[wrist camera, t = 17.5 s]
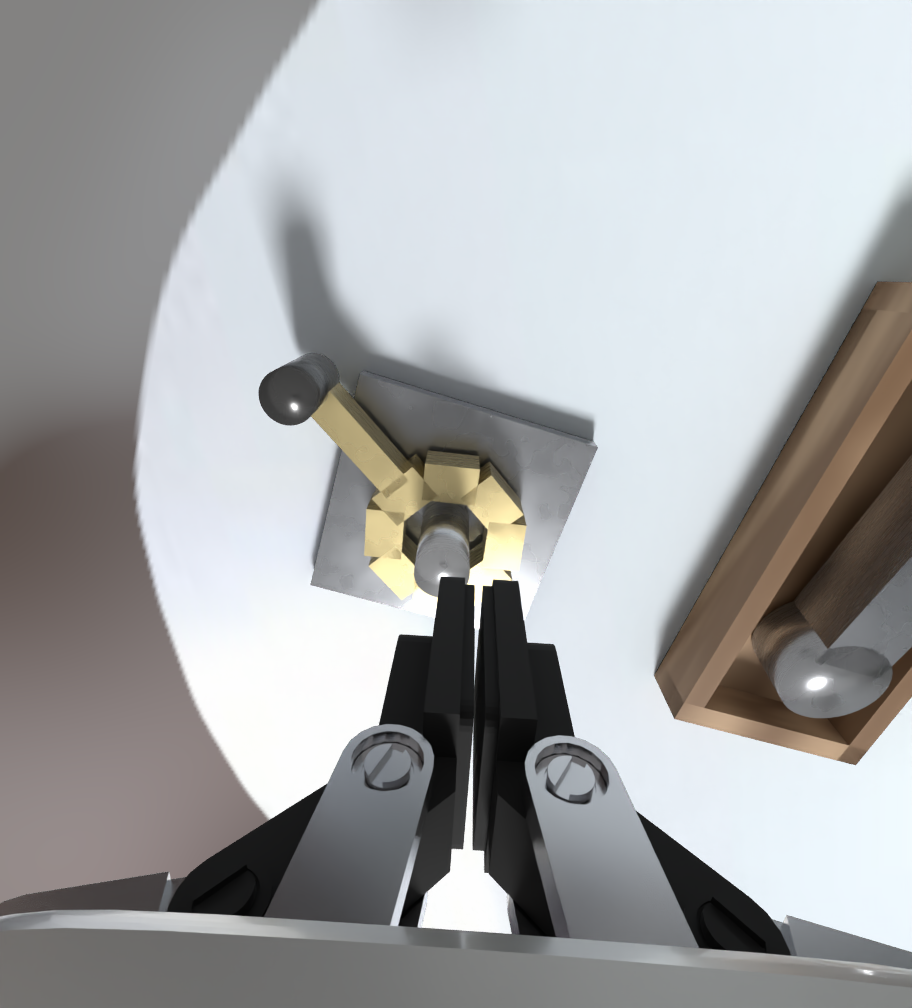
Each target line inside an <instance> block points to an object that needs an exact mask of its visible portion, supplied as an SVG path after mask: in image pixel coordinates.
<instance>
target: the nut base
mask: <svg viewBox="0 0 912 1008" xmlns="http://www.w3.org/2000/svg"><path fill="white" fill-rule="evenodd" d="M354 400H355V401H356V402H357V403H358V404H359V405H360V407H361V408H362V409H363V410H364V411H365V412H366V413H367V415H368V416H369V417H370V418H371V419H372V420H373V421H374V423H375V424H376V425H377V426H378V427H379V428H380V429H381V431H382V432H383V433H384V434H385V435H386V436H387V437H388V439H389V440H390V441H391V442H392V443H393V444H394V445H395V446H396V448H397V449H398V450H399V451H400V452H401V453H402V454H403V456H404V457H405V458H406V459H407V460H409V459H410V458H411V457H412V456H414V455H415V454H417V455H418V456H419V457H420V459H421V460H422V461H423V462H424V463H425V462H426V457H427V452H428V450H429V451H439V452H448V453H457V454H466V455H476V456H479V464H480V468H481V467H483V466H484V465H485V464H487V463H488V462H489V461H490V463H491V464H492V465H493V466H494V468H495V469H496V470H497V471H498V472H499V474H500V475H501V476H502V477H503V479H504V480H505V481H506V482H507V483H508V485H509V486H510V487H511V488H512V490H513V491H514V492H515V493H516V494H517V496H518V497H519V498H520V502H521V506H522V509H523V513H524V517H525V521H526V525H527V527H526V532H525V538H524V544H523V550H522V555H521V561H520V567H519V571H511V575H512V581H518V582H519V588H520V595H521V602H522V609H523V617H524V619H525V617H526V615H527V612H528V610H529V608H530V605H531V603H532V601H533V598H534V596H535V594H536V591H537V589H538V587H539V584H540V582H541V580H542V577H543V575H544V573H545V570H546V568H547V565H548V563H549V561H550V558H551V556H552V554H553V551H554V549H555V547H556V544H557V542H558V540H559V537H560V535H561V533H562V530H563V528H564V526H565V523H566V521H567V519H568V516H569V514H570V512H571V509H572V507H573V504H574V502H575V500H576V497H577V495H578V493H579V490H580V488H581V486H582V483H583V481H584V479H585V476H586V474H587V472H588V469H589V467H590V465H591V462H592V460H593V458H594V455H595V453H596V451H597V448H598V447H597V445H596V444H595V443H594V441H591V440H587V439H584V438H581V437H578V436H574V435H571V434H568V433H565V432H561V431H558V430H555V429H552V428H548V427H545V426H542V425H539V424H535V423H532V422H529V421H526V420H522V419H519V418H516V417H513V416H509V415H506V414H503V413H500V412H496V411H493V410H490V409H487V408H483V407H480V406H477V405H474V404H470V403H467V402H464V401H461V400H457V399H454V398H451V397H448V396H444V395H441V394H438V393H435V392H431V391H428V390H425V389H422V388H418V387H415V386H412V385H409V384H405V383H402V382H399V381H396V380H392V379H389V378H386V377H383V376H379V375H376V374H373V373H370V372H366V371H362V372H361V373H360V375H359V379H358V383H357V387H356V392H355V396H354ZM375 490H376V486H375V485H374V484H373V483H372V482H371V481H370V480H369V479H368V478H367V477H366V476H365V474H364V473H363V472H362V471H361V470H360V469H359V468H358V467H357V466H356V465H355V464H354V462H353V461H352V460H351V459H350V458H349V457H348V456H347V455H346V454H345V453H344V452H343V450H342V452H341V456H340V460H339V465H338V469H337V473H336V478H335V482H334V486H333V490H332V495H331V499H330V503H329V508H328V512H327V516H326V521H325V525H324V529H323V533H322V538H321V542H320V546H319V551H318V555H317V559H316V563H315V568H314V572H313V576H312V581H311V585H313V586H317V587H320V588H324V589H328V590H332V591H336V592H339V593H343V594H347V595H351V596H355V597H358V598H362V599H366V600H370V601H374V602H377V603H381V604H385V605H389V606H393V607H396V608H400V609H404V610H408V611H411V612H415V613H419V614H423V615H427V616H430V617H434V618H435V615H436V607H428V606H418V605H412V603H413V593H411V594H410V595H408V596H407V597H405V598H404V599H403V600H401V599H400V598H399V597H398V596H397V595H396V594H395V593H394V592H393V591H392V590H391V589H390V588H389V587H388V586H387V585H386V584H385V583H384V582H383V581H382V579H381V578H380V577H379V576H378V575H377V574H376V573H375V572H374V571H373V570H372V569H371V568H370V567H369V563H370V560H371V556H364V549H365V528H366V509H367V506H368V504H369V502H370V499H371V497H372V494H373V493H374V492H375ZM483 532H484V525H483V524H482V523H481V521H480V520H479V519H478V518H477V517H476V516H475V514H474V513H473V512H472V511H471V510H470V509H469V507H468V506H467V505H464V504H454V503H445V502H435V501H430V502H429V503H428V504H426V505H425V506H424V507H422V508H421V509H420V510H418V511H417V512H415V513H414V514H413V515H411V516H410V517H409V518H407V523H406V535H407V536H408V537H409V538H410V539H411V540H412V541H413V542H414V543H415V544H416V545H417V546H418V549H417V555H416V561H415V567H414V578H415V581H416V583H417V585H418V586H419V588H420V589H421V590H422V591H424V592H425V593H426V594H428V595H431V596H433V597H438V591H439V583H440V576H448V577H464V578H465V584H467V583H468V581H469V577H470V557H469V550H471V549H472V548H474V547H475V546H477V545H478V544H479V543H481V542H482V539H483ZM480 611H481V602H480V603H478V604H477V605H475V628H476V629H479V623H480Z"/></svg>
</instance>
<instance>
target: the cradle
mask: <svg viewBox="0 0 912 1008" xmlns="http://www.w3.org/2000/svg"><path fill="white" fill-rule="evenodd" d="M911 455H912V282H877V284H876V285H875V287H874V289H873V291H872V292H871V294H870V296H869V298H868V299H867V301H866V303H865V305H864V306H863V308H862V310H861V312H860V314H859V315H858V317H857V319H856V321H855V322H854V324H853V326H852V328H851V329H850V331H849V333H848V335H847V336H846V338H845V340H844V342H843V344H842V345H841V347H840V349H839V351H838V352H837V354H836V356H835V358H834V359H833V361H832V363H831V365H830V366H829V368H828V370H827V372H826V373H825V375H824V377H823V379H822V381H821V382H820V384H819V386H818V388H817V389H816V391H815V393H814V395H813V396H812V398H811V400H810V402H809V403H808V405H807V407H806V409H805V411H804V412H803V414H802V416H801V418H800V419H799V421H798V423H797V425H796V426H795V428H794V430H793V432H792V433H791V435H790V437H789V439H788V441H787V442H786V444H785V446H784V448H783V449H782V451H781V453H780V455H779V456H778V458H777V460H776V462H775V463H774V465H773V467H772V469H771V471H770V472H769V474H768V476H767V478H766V479H765V481H764V483H763V485H762V486H761V488H760V490H759V492H758V493H757V495H756V497H755V499H754V500H753V502H752V504H751V506H750V508H749V509H748V511H747V513H746V515H745V516H744V518H743V520H742V522H741V523H740V525H739V527H738V529H737V530H736V532H735V534H734V536H733V538H732V539H731V541H730V543H729V545H728V546H727V548H726V550H725V552H724V553H723V555H722V557H721V559H720V560H719V562H718V564H717V566H716V568H715V569H714V571H713V573H712V575H711V576H710V578H709V580H708V582H707V583H706V585H705V587H704V589H703V590H702V592H701V594H700V596H699V598H698V599H697V601H696V603H695V605H694V606H693V608H692V610H691V612H690V613H689V615H688V617H687V619H686V620H685V622H684V624H683V626H682V627H681V629H680V631H679V633H678V635H677V636H676V638H675V640H674V642H673V643H672V645H671V647H670V649H669V650H668V652H667V654H666V656H665V657H664V659H663V661H662V663H661V665H660V666H659V668H658V670H657V672H656V673H655V675H654V676H655V679H656V681H657V683H658V685H659V687H660V689H661V691H662V693H663V696H664V698H665V700H666V702H667V704H668V706H669V708H670V710H671V713H672V715H673V717H674V719H677V720H681V721H685V722H689V723H693V724H697V725H701V726H705V727H709V728H712V729H716V730H720V731H724V732H728V733H732V734H736V735H740V736H744V737H748V738H752V739H755V740H759V741H763V742H767V743H771V744H775V745H779V746H783V747H787V748H791V749H795V750H798V751H802V752H806V753H810V754H814V755H818V756H822V757H826V758H830V759H834V760H838V761H841V762H845V763H849V764H853V765H856V764H857V763H858V762H859V761H860V759H861V758H862V757H863V756H864V754H865V753H866V752H867V751H868V750H869V748H870V747H871V746H872V745H873V743H874V742H875V741H876V740H877V739H878V737H879V736H880V735H881V734H882V732H883V731H884V730H885V729H886V728H887V726H888V725H889V724H890V723H891V721H892V720H893V719H894V718H895V717H896V715H897V714H898V713H899V712H900V710H901V709H902V708H903V707H904V706H905V704H906V703H907V702H908V701H909V699H910V698H911V697H912V647H911V648H910V649H909V650H908V651H907V652H906V653H905V654H904V655H903V656H902V657H901V658H900V659H899V660H898V661H897V662H896V663H895V664H894V665H893V666H892V671H893V674H892V679H891V682H890V684H889V686H888V688H887V689H886V691H885V692H884V693H883V694H882V695H881V696H880V697H879V698H878V699H877V700H875V701H874V702H873V703H871V704H870V705H868V706H866V707H864V708H862V709H860V710H858V711H856V712H853V713H850V714H847V715H843V716H839V717H832V718H811V717H806V716H802V715H799V714H797V713H794V712H793V711H791V710H790V709H788V708H787V707H786V706H785V704H784V703H783V701H782V700H781V698H780V696H779V694H778V693H777V691H776V689H775V687H774V686H773V684H772V682H771V680H770V679H769V677H768V675H767V673H766V672H765V670H764V668H763V666H762V664H761V663H760V661H759V659H758V657H757V656H756V654H755V652H754V650H753V647H752V636H753V633H754V630H755V628H756V627H757V625H758V624H759V622H760V621H761V620H762V619H763V618H764V617H765V616H766V615H768V614H769V613H770V612H772V611H773V610H775V609H777V608H778V607H780V606H782V605H785V604H787V603H790V602H793V601H794V600H795V599H796V597H797V596H798V595H799V594H800V592H801V591H802V590H803V589H804V587H805V586H806V585H807V584H808V583H809V581H810V580H811V579H812V578H813V576H814V575H815V574H816V573H817V571H818V570H819V569H820V568H821V566H822V565H823V564H824V563H825V561H826V560H827V559H828V558H829V556H830V555H831V554H832V553H833V552H834V550H835V549H836V548H837V547H838V545H839V544H840V543H841V542H842V540H843V539H844V538H845V537H846V535H847V534H848V533H849V532H850V530H851V529H852V528H853V527H854V525H855V524H856V523H857V522H858V521H859V519H860V518H861V517H862V516H863V514H864V513H865V512H866V511H867V509H868V508H869V507H870V506H871V504H872V503H873V502H874V501H875V499H876V498H877V497H878V496H879V494H880V493H881V492H882V491H883V490H884V488H885V487H886V486H887V485H888V483H889V482H890V481H891V480H892V478H893V477H894V476H895V475H896V473H897V472H898V471H899V470H900V468H901V467H902V466H903V465H904V463H905V462H906V461H907V460H908V459H909V457H910V456H911Z"/></svg>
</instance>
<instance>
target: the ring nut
mask: <svg viewBox="0 0 912 1008" xmlns="http://www.w3.org/2000/svg"><path fill="white" fill-rule="evenodd" d="M259 400H260V404H261V406H262V408H263V410H264V411H265V413H266V414H267V415H268V416H269V417H270V418H271V419H273V420H274V421H276V422H278V423H280V424H284V425H297V424H300V423H303V422H304V421H306V420H307V419H308V418H309V417H310V416H311V417H312V418H313V419H314V420H315V421H316V422H317V423H318V424H319V425H320V427H321V428H322V429H323V430H324V431H325V432H326V433H327V434H328V435H329V436H330V437H331V439H332V440H333V441H334V442H335V443H336V444H337V445H338V446H339V447H340V448H341V449H342V450H343V452H344V453H345V454H346V455H347V456H348V457H349V458H350V459H351V460H352V461H353V462H354V464H355V465H356V466H357V467H358V468H359V469H360V470H361V471H362V472H363V473H364V474H365V476H366V477H367V478H368V479H369V480H370V481H371V482H372V483H373V484H374V485H375V486H376V490H375V492H374V493H373V494H372V497H371V499H370V502H369V504H368V506H367V509H366V528H365V549H364V556H371V560H370V563H369V567H370V568H371V569H372V570H373V571H374V572H375V573H376V574H377V575H378V576H379V577H380V578H381V579H382V581H383V582H384V583H385V584H386V585H387V586H388V587H389V588H390V589H391V590H392V591H393V592H394V593H395V594H396V595H397V596H398V597H399V598H400V599H401V600H403V599H404V598H405V597H407V596H408V595H410V594H411V593H413V603H412V605H418V606H428V607H437V599H438V597H433V596H431V595H428V594H426V593H425V592H424V591H422V590H421V589H420V588H419V586H418V585H417V583H416V581H415V578H414V567H415V561H416V555H417V549H418V546H417V545H416V544H415V543H414V542H413V541H412V540H411V539H410V538H409V537H408V536H407V535H406V523H407V518H409V517H410V516H411V515H413V514H414V513H415V512H417V511H418V510H420V509H421V508H422V507H424V506H425V505H426V504H428V503H429V502H430V501H435V502H445V503H454V504H464V505H467V506H468V507H469V509H470V510H471V511H472V512H473V513H474V514H475V516H476V517H477V518H478V519H479V520H480V521H481V523H482V524H483V525H484V532H483V539H482V542H481V543H479V544H478V545H477V546H475V547H474V548H472V549H471V550H469V557H470V577H469V581H468V583H467V584H469V585H475V605H477V604H478V603H480V602H481V598H482V587H483V585H485V586H492V581H493V579H496V580H512V575H511V571H519V567H520V561H521V555H522V550H523V544H524V538H525V532H526V527H527V525H526V521H525V517H524V513H523V509H522V506H521V502H520V498H519V497H518V496H517V494H516V493H515V492H514V491H513V490H512V488H511V487H510V486H509V485H508V483H507V482H506V481H505V480H504V479H503V477H502V476H501V475H500V474H499V472H498V471H497V470H496V469H495V468H494V466H493V465H492V464H491V463H490V461H489V462H488V463H487V464H485V465H484V466H483V467H481V468H480V464H479V456H476V455H466V454H457V453H448V452H439V451H429V450H428V452H427V457H426V462H425V463H424V462H423V461H422V460H421V459H420V457H419V456H418V455H417V454H415V455H414V456H412V457H411V458H410V459H409V460H407V459H406V458H405V457H404V456H403V454H402V453H401V452H400V451H399V450H398V449H397V448H396V446H395V445H394V444H393V443H392V442H391V441H390V440H389V439H388V437H387V436H386V435H385V434H384V433H383V432H382V431H381V429H380V428H379V427H378V426H377V425H376V424H375V423H374V421H373V420H372V419H371V418H370V417H369V416H368V415H367V413H366V412H365V411H364V410H363V409H362V408H361V407H360V405H359V404H358V403H357V402H356V401H355V400H354V399H353V398H352V396H351V395H350V394H349V393H348V392H347V391H346V390H345V388H344V387H343V386H342V385H341V384H340V383H339V373H338V370H337V368H336V366H335V365H334V363H333V362H332V361H331V360H330V359H329V358H327V357H326V356H324V355H321V354H317V353H309V354H305V355H303V356H301V357H299V358H297V359H295V360H293V361H291V362H289V363H287V364H286V365H284V366H282V367H280V368H278V369H276V370H274V371H272V372H270V373H269V374H267V375H266V376H265V377H264V379H263V380H262V382H261V384H260V387H259Z"/></svg>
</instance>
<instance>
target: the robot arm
mask: <svg viewBox="0 0 912 1008" xmlns="http://www.w3.org/2000/svg"><path fill="white" fill-rule="evenodd" d="M474 640H475V585H469V584H465V578H464V577H448V576H440V583H439V591H438V599H437V607H436V615H435V623H434V631H433V637H432V636H416V635H401V634H400V635H399V637H398V641H397V645H396V650H395V655H394V659H393V664H392V668H391V673H390V677H389V682H388V686H387V691H386V695H385V700H384V705H383V709H382V714H381V718H380V723H379V726H373V727H371V728H369V729H367V730H364V731H362V732H360V733H359V734H358V735H357V736H355V737H354V738H353V739H351V740H350V742H349V743H348V745H347V746H346V748H345V749H344V750H343V752H342V754H341V757H340V759H339V761H338V763H337V765H336V767H335V769H334V771H333V773H332V775H331V778H330V780H329V782H328V784H326V785H324V786H323V787H321V788H320V789H318V790H316V791H315V792H313V793H312V794H310V795H308V796H307V797H305V798H304V799H302V800H301V801H299V802H297V803H296V804H294V805H293V806H291V807H289V808H288V809H286V810H285V811H283V812H282V813H280V814H278V815H277V816H275V817H274V818H272V819H270V820H269V821H267V822H266V823H264V824H263V825H261V826H259V827H258V828H256V829H255V830H253V831H251V832H250V833H248V834H247V835H245V836H243V837H242V838H241V839H239V840H237V841H236V842H234V843H232V844H231V845H229V846H228V847H226V848H224V849H223V850H221V851H220V852H218V853H217V854H215V855H214V856H212V857H210V858H209V859H207V860H206V861H204V862H203V863H202V864H201V865H199V866H198V867H197V868H195V869H194V870H193V871H192V872H190V874H189V875H188V876H187V877H183V878H177V879H171V878H170V873H169V872H163V873H157V874H150V875H144V876H138V877H132V878H125V879H119V880H113V881H107V882H101V883H94V884H88V885H82V886H76V887H70V888H63V889H57V890H51V891H45V892H38V893H33V894H26V895H23V896H20V897H16V898H13V899H10V900H7V901H4V902H2V903H0V1008H912V952H909V951H906V950H902V949H899V948H896V947H892V946H889V945H886V944H882V943H879V942H876V941H872V940H869V939H865V938H862V937H859V936H855V935H852V934H849V933H845V932H842V931H839V930H835V929H832V928H829V927H825V926H822V925H818V924H815V923H812V922H808V921H805V920H802V919H798V918H795V917H792V916H788V915H786V917H785V919H784V922H783V923H782V922H779V921H776V920H772V919H771V918H770V916H769V915H768V914H767V913H766V912H765V911H764V910H763V909H762V908H761V907H760V906H759V905H758V904H756V903H755V902H754V901H753V900H752V899H751V898H750V897H749V896H747V895H746V894H745V893H743V892H742V891H741V890H739V889H738V888H737V887H735V886H734V885H733V884H731V883H730V882H729V881H728V880H726V879H725V878H724V877H722V876H721V875H720V874H718V873H717V872H716V871H714V870H713V869H712V868H710V867H709V866H708V865H707V864H705V863H704V862H703V861H701V860H700V859H699V858H697V857H696V856H695V855H693V854H692V853H691V852H689V851H688V850H687V849H686V848H684V847H683V846H682V845H680V844H679V843H678V842H676V841H675V840H674V839H672V838H671V837H670V836H668V835H667V834H666V833H665V832H663V831H662V830H661V829H659V828H658V827H657V826H655V825H654V824H653V823H651V822H650V821H649V820H647V819H646V818H645V817H644V816H642V815H641V814H640V813H638V812H637V811H636V810H635V808H634V806H633V804H632V802H631V799H630V797H629V795H628V793H627V791H626V789H625V786H624V784H623V782H622V780H621V778H620V776H619V773H618V771H617V769H616V768H615V766H614V764H613V763H612V761H611V760H610V758H609V757H608V756H607V755H606V754H605V753H604V752H602V751H601V750H600V749H599V748H598V747H596V746H594V745H593V744H591V743H589V742H587V741H585V740H582V739H579V738H576V737H575V736H574V732H573V727H572V722H571V718H570V713H569V708H568V704H567V699H566V694H565V690H564V685H563V680H562V675H561V671H560V666H559V661H558V657H557V652H556V648H555V646H554V645H553V644H541V643H527V638H526V631H525V624H524V617H523V609H522V602H521V595H520V588H519V582H518V581H512V580H496V579H493V581H492V586H485V585H483V587H482V598H481V611H480V623H479V635H478V648H477V660H476V673H475V685H474ZM473 718H474V730H473ZM472 734H473V850H480V851H484V873H489V875H490V876H491V877H492V878H493V879H494V880H495V881H496V882H497V883H498V884H499V885H500V886H501V887H502V888H503V889H504V891H505V892H506V893H507V911H508V916H509V922H510V927H511V932H512V934H502V933H488V932H474V931H459V930H445V929H431V928H422V923H423V919H424V914H425V910H426V905H427V894H428V890H430V889H431V888H432V887H433V886H434V885H435V884H436V883H437V882H438V881H440V880H441V879H442V878H443V877H444V876H445V875H446V874H447V873H449V872H450V863H451V849H463V843H464V831H465V819H466V807H467V795H468V782H469V770H470V758H471V746H472Z"/></svg>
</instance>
